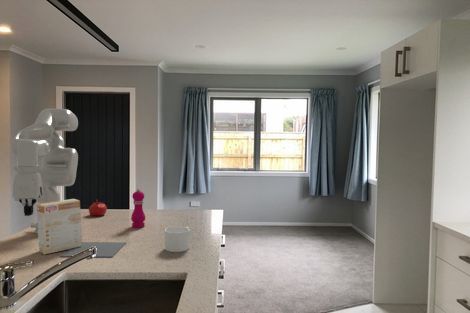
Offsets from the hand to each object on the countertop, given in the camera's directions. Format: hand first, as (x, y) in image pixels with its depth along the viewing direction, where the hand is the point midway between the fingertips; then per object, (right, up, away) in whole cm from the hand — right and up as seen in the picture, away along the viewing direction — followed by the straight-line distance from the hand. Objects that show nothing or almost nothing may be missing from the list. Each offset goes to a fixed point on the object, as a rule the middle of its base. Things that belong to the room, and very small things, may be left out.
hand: (28, 215), depth 151 cm
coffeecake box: (+13, -14, +1) cm, 19 cm away
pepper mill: (+34, -13, +41) cm, 55 cm away
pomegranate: (+3, -11, +67) cm, 68 cm away
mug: (+61, -15, +6) cm, 63 cm away
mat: (+27, -15, +1) cm, 30 cm away
